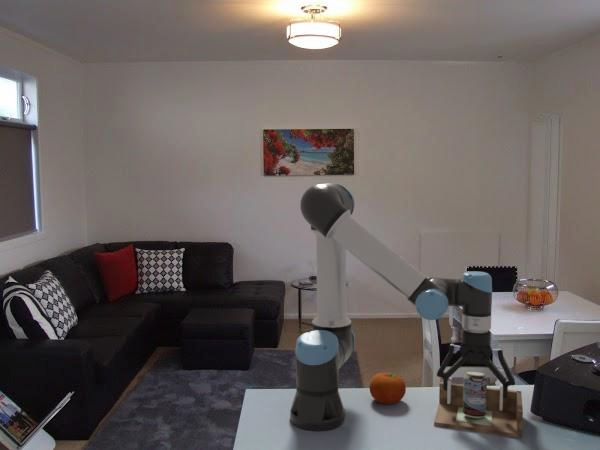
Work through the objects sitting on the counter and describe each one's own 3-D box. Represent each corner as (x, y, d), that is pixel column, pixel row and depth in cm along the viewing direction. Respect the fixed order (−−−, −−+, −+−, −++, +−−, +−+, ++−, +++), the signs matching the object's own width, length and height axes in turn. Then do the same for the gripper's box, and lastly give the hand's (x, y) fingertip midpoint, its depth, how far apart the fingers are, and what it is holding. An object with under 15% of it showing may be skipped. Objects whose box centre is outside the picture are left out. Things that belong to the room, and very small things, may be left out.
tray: (434, 425, 150) (434, 400, 150) (439, 405, 163) (440, 381, 163) (522, 438, 143) (522, 411, 142) (520, 415, 156) (521, 391, 155)
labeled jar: (463, 420, 150) (464, 377, 149) (461, 409, 157) (462, 367, 156) (487, 422, 149) (489, 378, 148) (484, 411, 156) (485, 369, 155)
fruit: (365, 405, 164) (365, 379, 163) (373, 392, 173) (373, 367, 172) (401, 410, 160) (402, 383, 159) (408, 397, 169) (408, 371, 169)
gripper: (427, 328, 152) (426, 404, 154) (526, 337, 143) (524, 417, 145) (430, 321, 159) (429, 394, 161) (525, 329, 150) (523, 405, 152)
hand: (474, 405), depth 153 cm, fingers open, 13 cm apart
